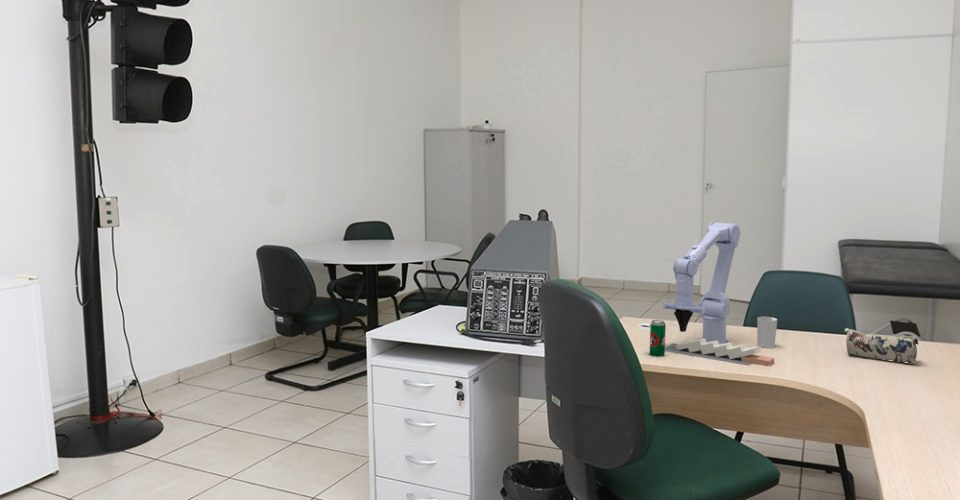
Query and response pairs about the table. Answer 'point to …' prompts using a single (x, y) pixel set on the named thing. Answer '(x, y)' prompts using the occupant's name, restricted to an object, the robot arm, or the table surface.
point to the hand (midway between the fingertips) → (683, 331)
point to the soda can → (657, 338)
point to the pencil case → (882, 346)
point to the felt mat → (705, 355)
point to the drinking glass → (766, 331)
